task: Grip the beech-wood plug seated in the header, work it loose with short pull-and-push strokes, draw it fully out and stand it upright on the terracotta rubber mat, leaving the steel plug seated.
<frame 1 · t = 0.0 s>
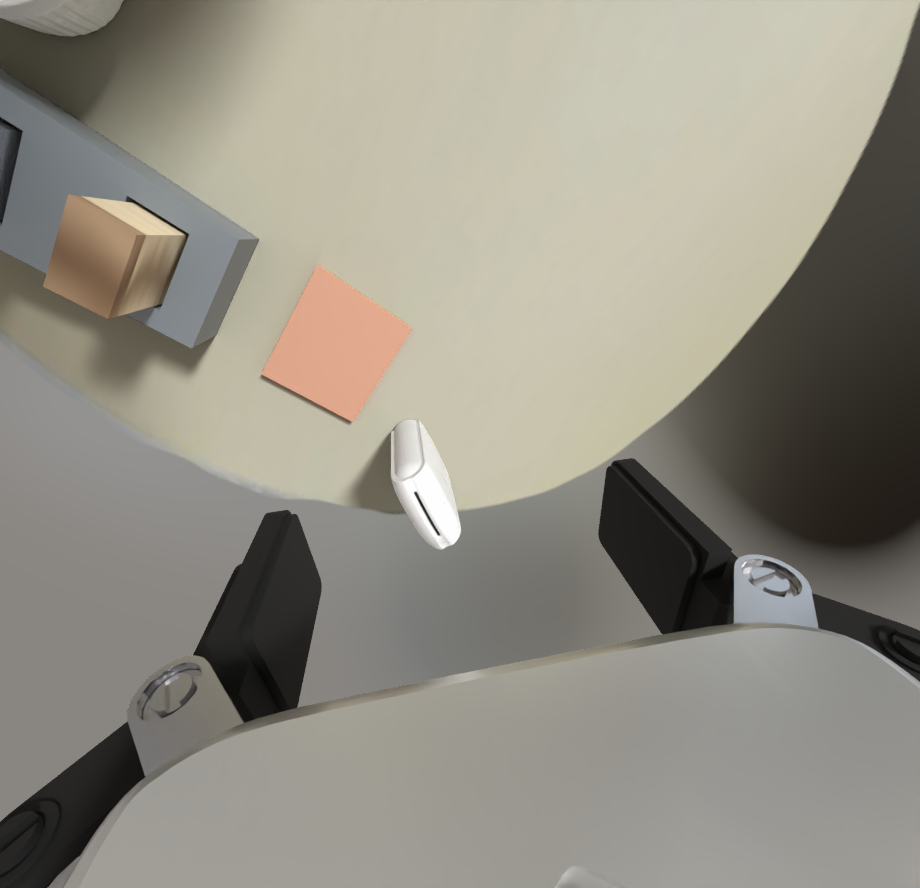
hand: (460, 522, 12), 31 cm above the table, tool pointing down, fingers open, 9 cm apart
mat: (337, 349, 39), on the table
steel plug: (35, 169, 29), resting in header
photo printer: (421, 454, 46), on the table
header: (110, 214, 31), on the table
beech plug: (177, 254, 33), resting in header
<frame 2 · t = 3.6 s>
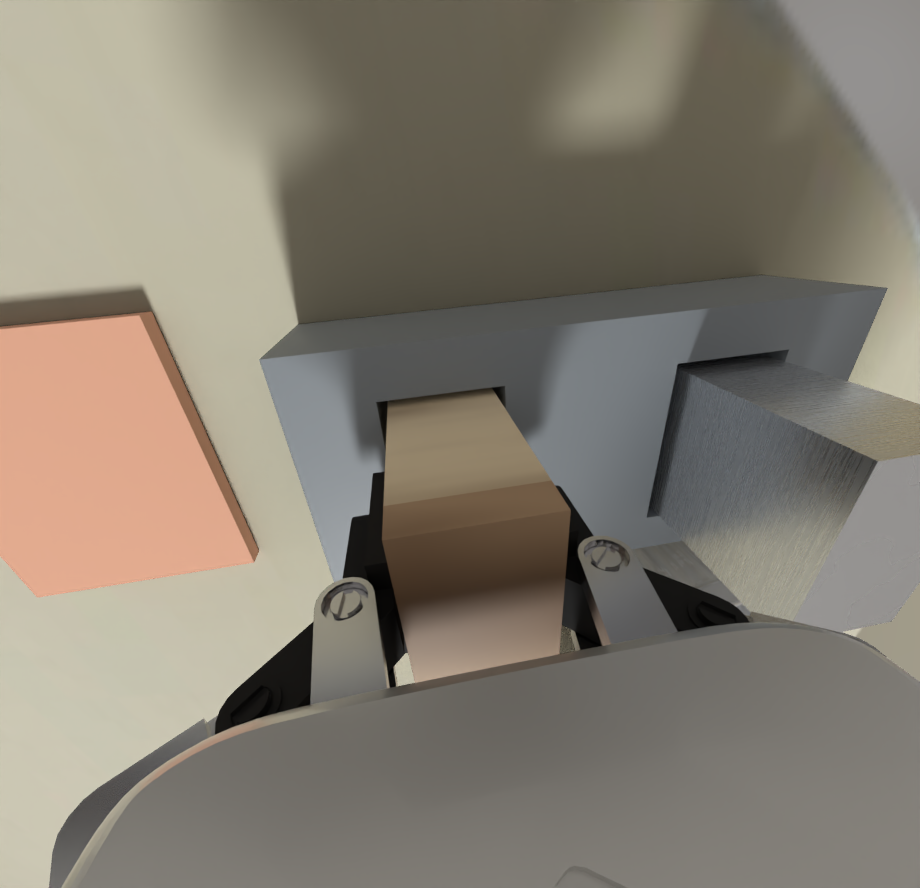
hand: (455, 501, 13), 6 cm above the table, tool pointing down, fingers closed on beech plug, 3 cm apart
mat: (93, 467, 17), on the table
steel plug: (637, 394, 19), resting in header
header: (540, 407, 18), on the table
beech plug: (437, 421, 18), resting in header, touching gripper
ramekin: (646, 578, 26), on the table
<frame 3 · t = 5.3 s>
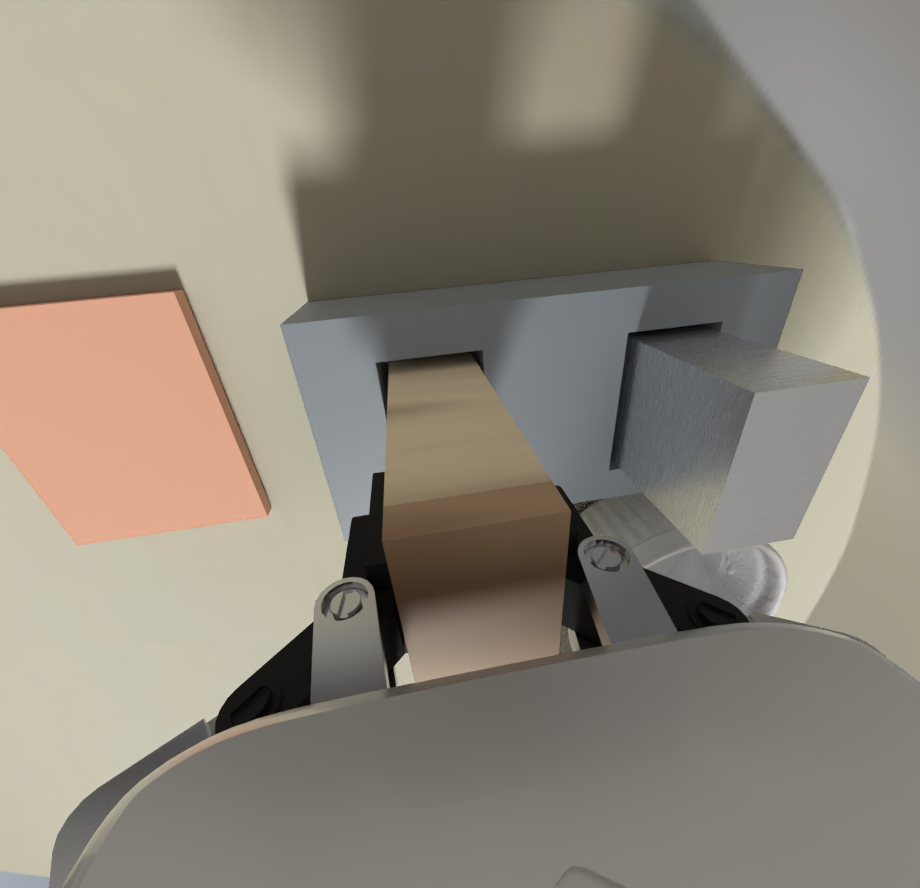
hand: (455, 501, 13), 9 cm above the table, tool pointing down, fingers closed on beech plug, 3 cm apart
mat: (128, 428, 19), on the table
steel plug: (606, 367, 21), resting in header
header: (520, 378, 21), on the table
beech plug: (437, 419, 18), point 3 cm above the table, touching gripper
ramekin: (621, 540, 29), on the table
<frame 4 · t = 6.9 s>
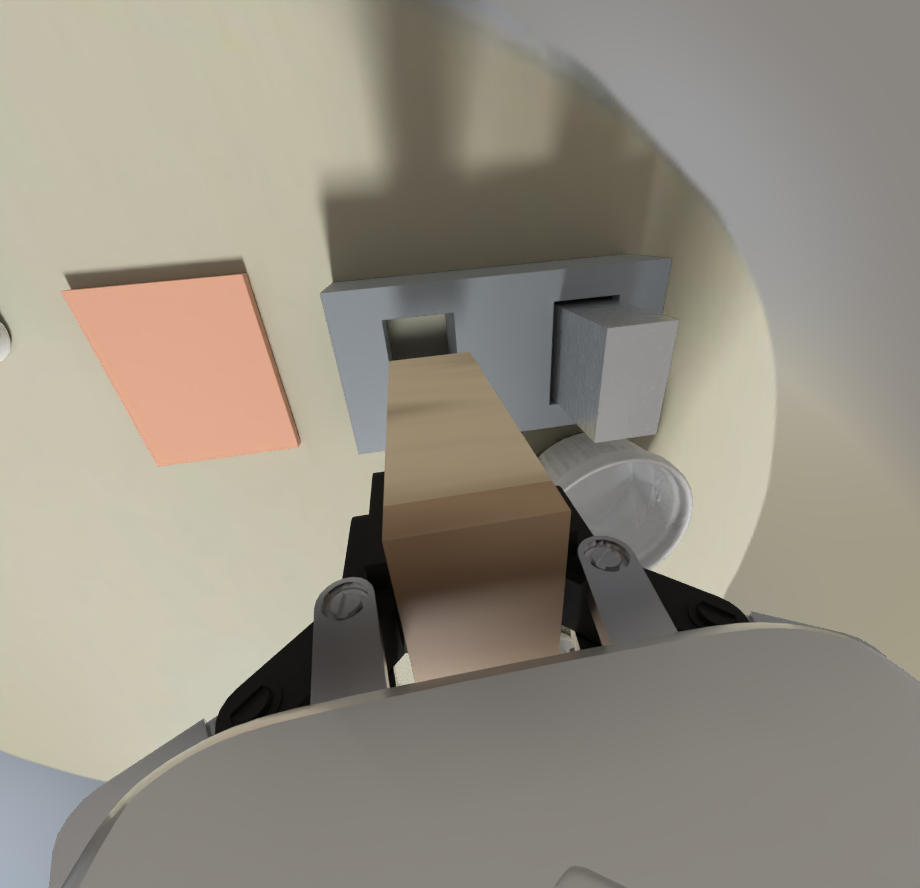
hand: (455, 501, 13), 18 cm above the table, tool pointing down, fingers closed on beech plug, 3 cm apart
mat: (200, 375, 26), on the table
steel plug: (553, 334, 29), resting in header
header: (488, 342, 28), on the table
beech plug: (437, 419, 18), point 11 cm above the table, touching gripper
ramekin: (576, 480, 36), on the table
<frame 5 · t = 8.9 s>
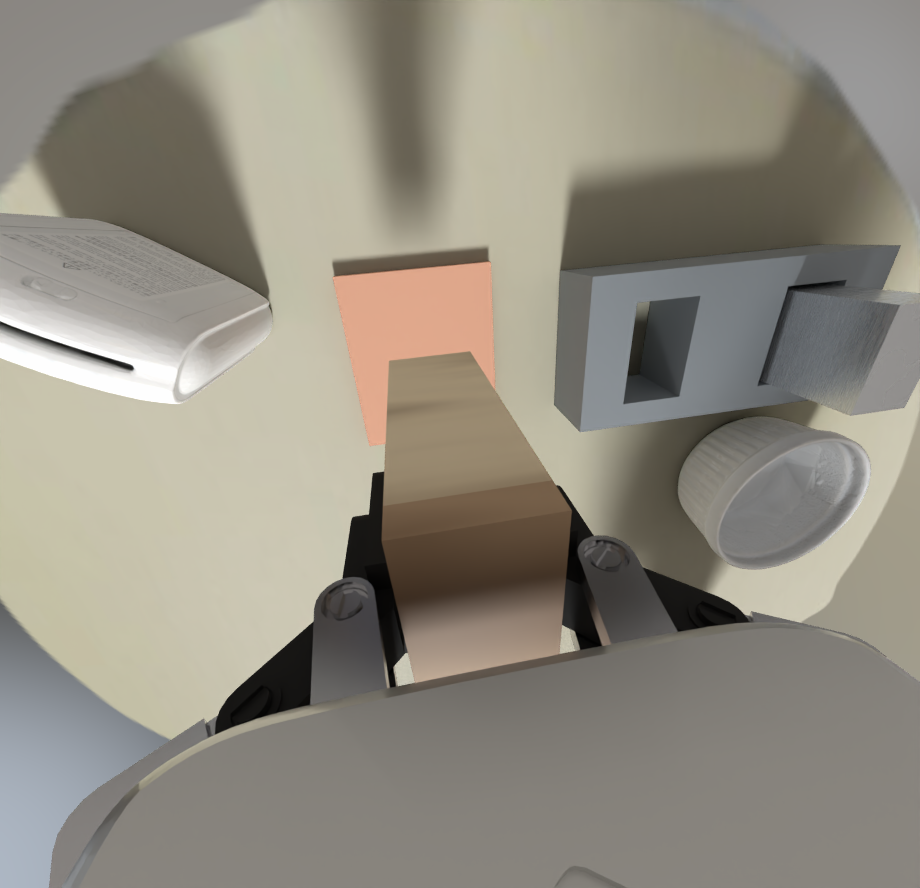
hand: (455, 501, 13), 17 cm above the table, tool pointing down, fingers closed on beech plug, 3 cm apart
mat: (424, 359, 28), on the table
steel plug: (740, 321, 30), resting in header
photo printer: (188, 289, 24), on the table
header: (681, 328, 30), on the table
beech plug: (437, 418, 18), point 11 cm above the table, touching gripper
ramekin: (727, 465, 37), on the table
when the fingers open (8 cm above the table, at t = 10.7 s): beech plug drops 1 cm, resting on mat.
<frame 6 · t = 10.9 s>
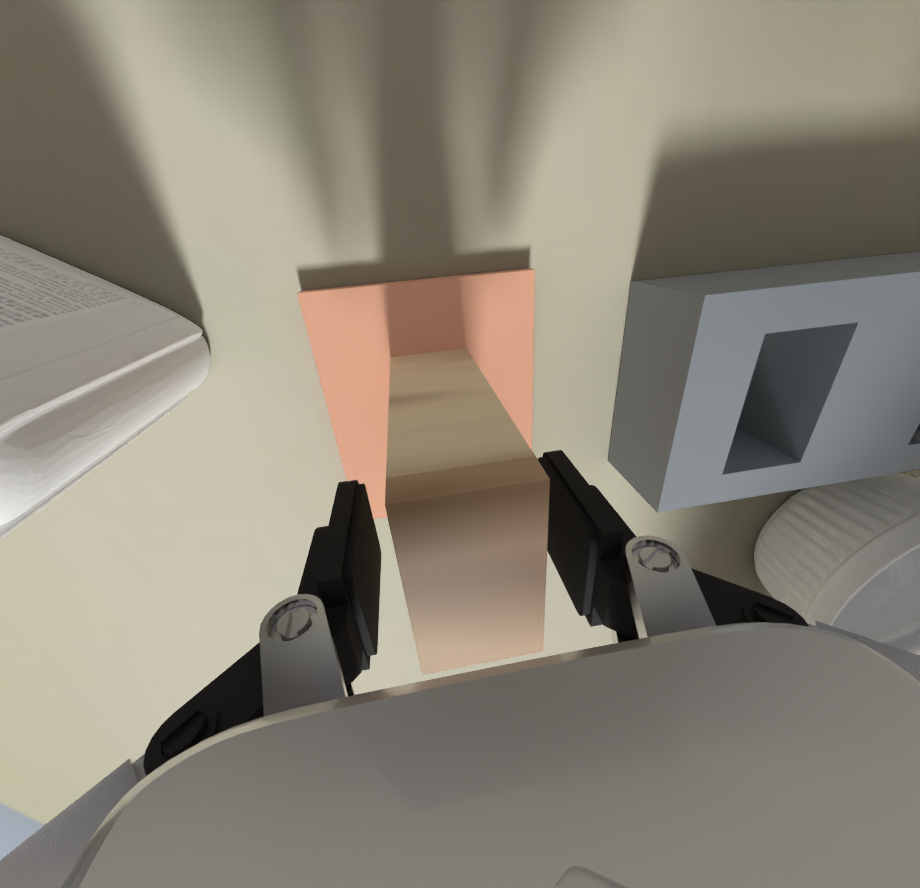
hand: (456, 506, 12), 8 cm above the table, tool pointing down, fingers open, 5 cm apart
mat: (433, 405, 20), on the table
photo printer: (77, 312, 16), on the table
header: (786, 359, 22), on the table
beech plug: (435, 412, 19), point 1 cm above the table, touching mat
ramekin: (816, 524, 29), on the table
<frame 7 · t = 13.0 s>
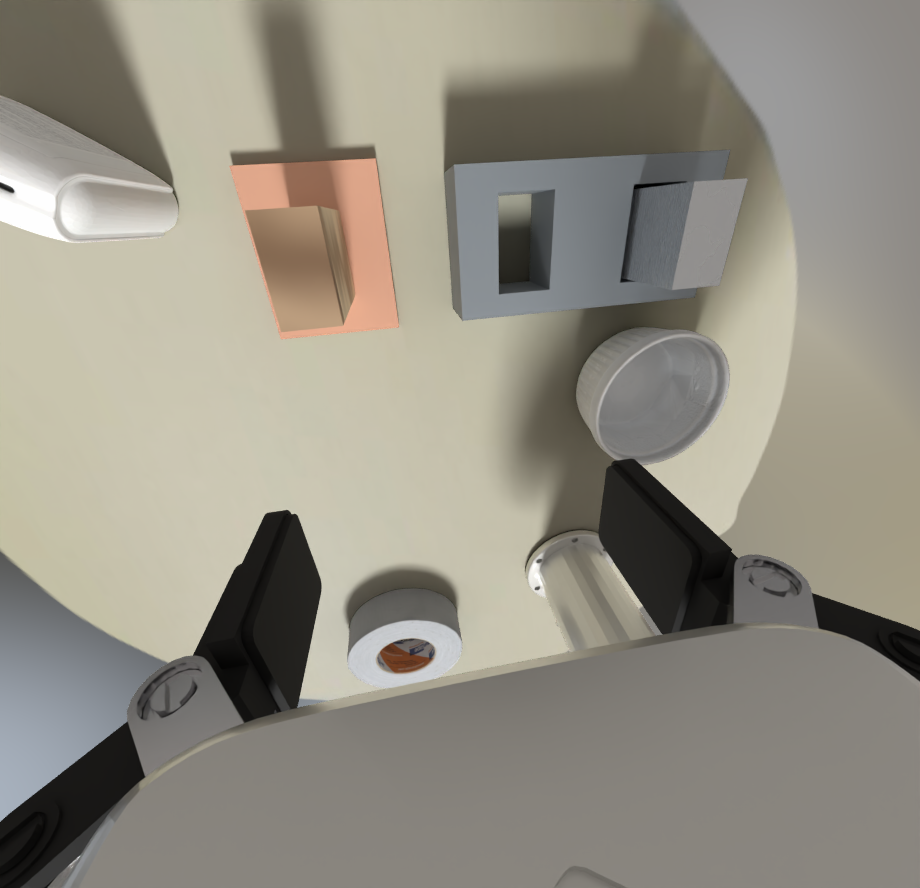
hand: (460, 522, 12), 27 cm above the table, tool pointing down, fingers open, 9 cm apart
mat: (325, 255, 31), on the table
steel plug: (617, 232, 34), resting in header
photo printer: (96, 174, 26), on the table
header: (563, 237, 33), on the table
beech plug: (325, 256, 30), point 1 cm above the table, touching mat
ramekin: (622, 378, 41), on the table
tape roll: (404, 622, 56), on the table
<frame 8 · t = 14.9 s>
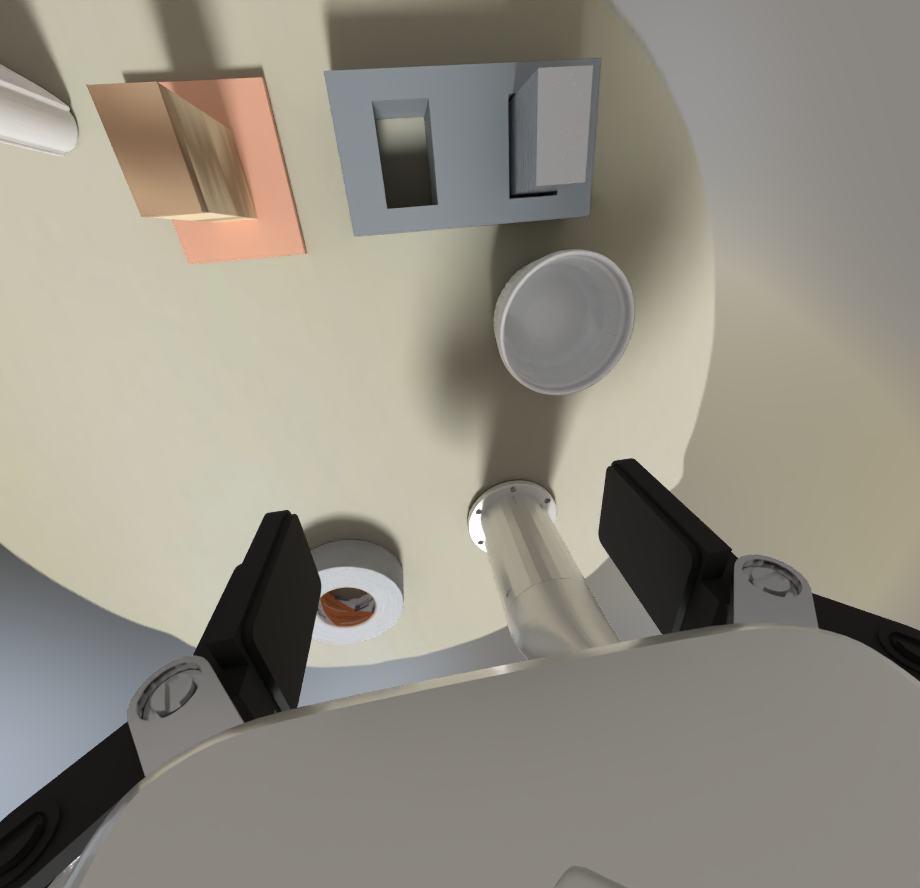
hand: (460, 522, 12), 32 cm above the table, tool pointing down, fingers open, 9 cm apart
mat: (226, 179, 32), on the table
steel plug: (516, 158, 34), resting in header
header: (461, 162, 34), on the table
beech plug: (223, 178, 31), point 1 cm above the table, touching mat
ramekin: (543, 315, 42), on the table
tape roll: (350, 577, 56), on the table
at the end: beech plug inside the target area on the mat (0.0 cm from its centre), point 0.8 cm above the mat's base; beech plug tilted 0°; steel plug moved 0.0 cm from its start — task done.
